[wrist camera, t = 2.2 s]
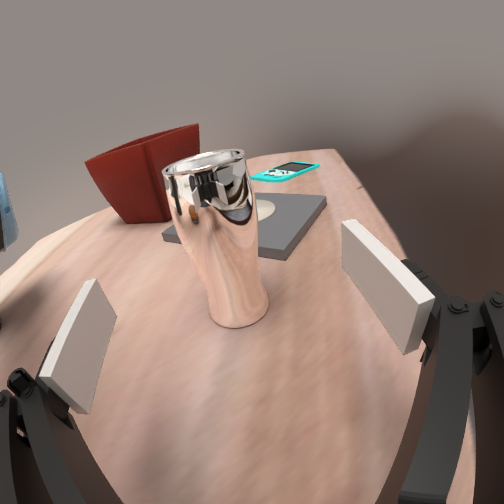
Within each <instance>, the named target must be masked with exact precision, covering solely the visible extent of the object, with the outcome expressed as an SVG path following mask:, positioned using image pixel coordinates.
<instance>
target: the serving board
mask: <svg viewBox="0 0 504 504" xmlns="http://www.w3.org/2000/svg"><path fill="white" fill-rule="evenodd" d="M254 194H255V198H256V205H257V212H258V225H259V256H260V257H267V258H273V259H279V260H286V259H287V257H288V256H289V255H290V253H291V252H292V251H293V249H294V248H295V247H296V245H297V244H298V243H299V241H300V240H301V238H302V237H303V236H304V234H305V233H306V232H307V230H308V229H309V228H310V226H311V225H312V224H313V222H314V221H315V219H316V218H317V217H318V215H319V214H320V212H321V211H322V210H323V208H324V207H325V206H326V204H327V202H326V196H319V195H302V194H281V193H254ZM162 236H163V239H164V241H168V242H174V243H180V244H182V243H181V241H180V239H179V236H178V234H177V231H176V228H175V226H174V225H172V226H171V227H169V228H168V229H166V230H165V231H164V232H162Z"/></svg>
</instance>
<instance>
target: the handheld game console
mask: <svg viewBox="0 0 504 504" xmlns="http://www.w3.org/2000/svg"><path fill="white" fill-rule="evenodd" d="M318 167H320V166H319V164H313V163H304V162H295V161H292V162H289V163H286V164H283V165H280V166H278V167H275V168H272V169H269V170H267V171H264V172H261V173H259V174H256V175H253V176H251V179H252V180H258V181H265V182H284V181H286V180H289V179H291V178H294V177H296V176H298V175H301V174H303V173H306V172H308V171H311V170H313V169H315V168H318Z"/></svg>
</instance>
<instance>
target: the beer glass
mask: <svg viewBox="0 0 504 504" xmlns="http://www.w3.org/2000/svg"><path fill="white" fill-rule="evenodd" d="M161 173H162V176H163V180H164V185H165V190H166V195H167V200H168V205H169V209H170V212H171V216H172V220H173V223H174V226H175V228H176V231H177V234H178V236H179V239H180V241H181V243H182V245H183V247H184V249H185V251H186V253H187V255H188V256H189V258H190V260H191V262H192V263H193V265H194V267H195V269H196V270H197V272H198V274H199V276H200V278H201V279H202V281H203V283H204V286H205V288H206V292H207V296H208V303H209V310H210V315H211V317H212V319H213V320H214V321H215V322H216V323H217V324H219V325H221V326H223V327H227V328H241V327H245V326H248V325H251V324H253V323H255V322H257V321H258V320H259V319H261V318H262V317H263V316H264V314H265V313H266V312H267V310H268V307H269V299H268V296H267V293H266V291H265V289H264V286H263V284H262V281H261V278H260V274H259V258H258V256H259V225H258V212H257V205H256V198H255V194H254V189H253V185H252V181H251V177H250V173H249V170H248V166H247V163H246V159H245V155H244V151H243V150H241V149H225V150H218V151H212V152H207V153H203V154H199V155H195V156H192V157H188V158H185V159H182V160H180V161H177V162H175V163H173V164H171V165H169V166H167V167H165V168H164V169H163V170H162V172H161Z"/></svg>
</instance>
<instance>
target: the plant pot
mask: <svg viewBox="0 0 504 504" xmlns="http://www.w3.org/2000/svg"><path fill="white" fill-rule="evenodd" d="M199 154H200V143H199V125H198V123H197V124H193V125H188V126H184V127H179V128H175V129H172V130H168V131H164V132H160V133H156V134H153V135H149V136H146V137H143V138H139V139H137V140H134V141H131V142H129V143H126V144H124V145H121V146H119V147H117V148H114V149H111V150H109V151H107V152H105V153H102V154H100V155H98V156H96V157H94V158H91V159H89V160H87V161H85V164H86V167H87V169H88V171H89V173H90V175H91V176H92V178H93V180H94V181H95V183H96V185H97V186H98V188H99V189H100V191H101V193H102V194H103V195H104V197H105V198H106V200H107V201H108V202H109V203H110V205H111V206H112V207H113V208H114V210H115V211H116V212H117V213H118V214H119V216H120V217H121V218H122V219H123V220H124V221H125V222H126V223H144V222H165V221H168V220H169V219H170V218H172V216H171V212H170V209H169V205H168V200H167V195H166V190H165V185H164V180H163V176H162V173H161V172H162V170H163V169H164V168H165V167H167V166H169V165H171V164H173V163H175V162H177V161H180V160H182V159H185V158H188V157H192V156H195V155H199Z"/></svg>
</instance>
